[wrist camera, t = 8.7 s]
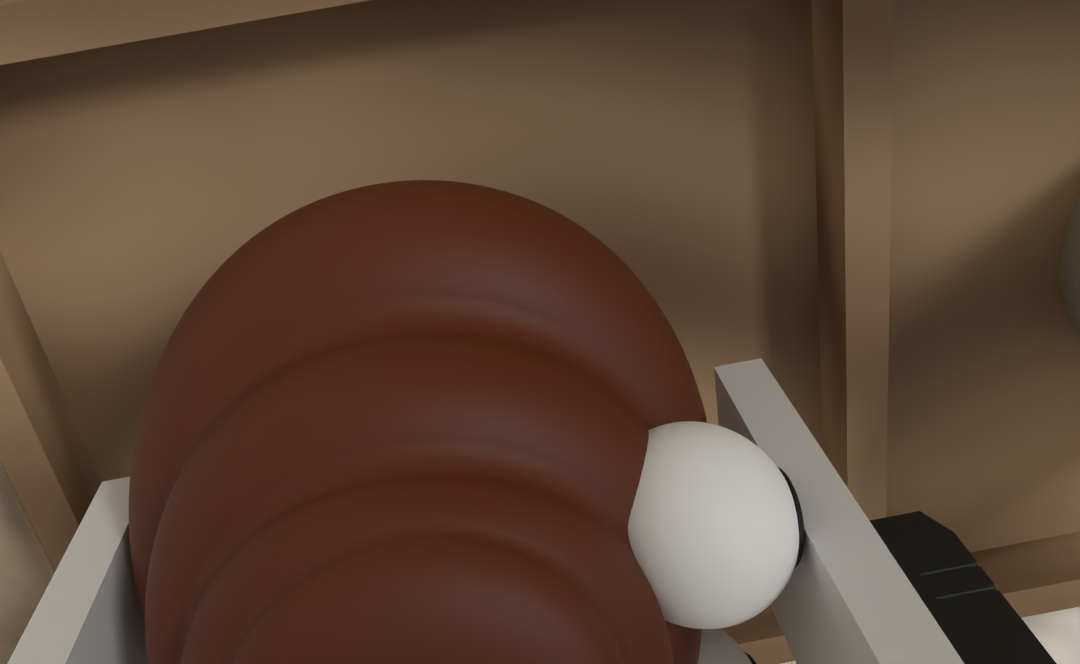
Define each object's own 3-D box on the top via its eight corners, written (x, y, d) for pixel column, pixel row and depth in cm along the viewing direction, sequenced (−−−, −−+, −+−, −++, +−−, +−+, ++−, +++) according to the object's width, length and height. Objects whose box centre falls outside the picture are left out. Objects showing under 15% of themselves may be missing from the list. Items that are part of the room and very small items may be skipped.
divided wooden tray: (-135, 18, 16) (-209, 41, 14) (1738, -307, 16) (1899, -327, 14) (179, 708, 23) (158, 781, 21) (1470, 465, 23) (1555, 515, 22)
